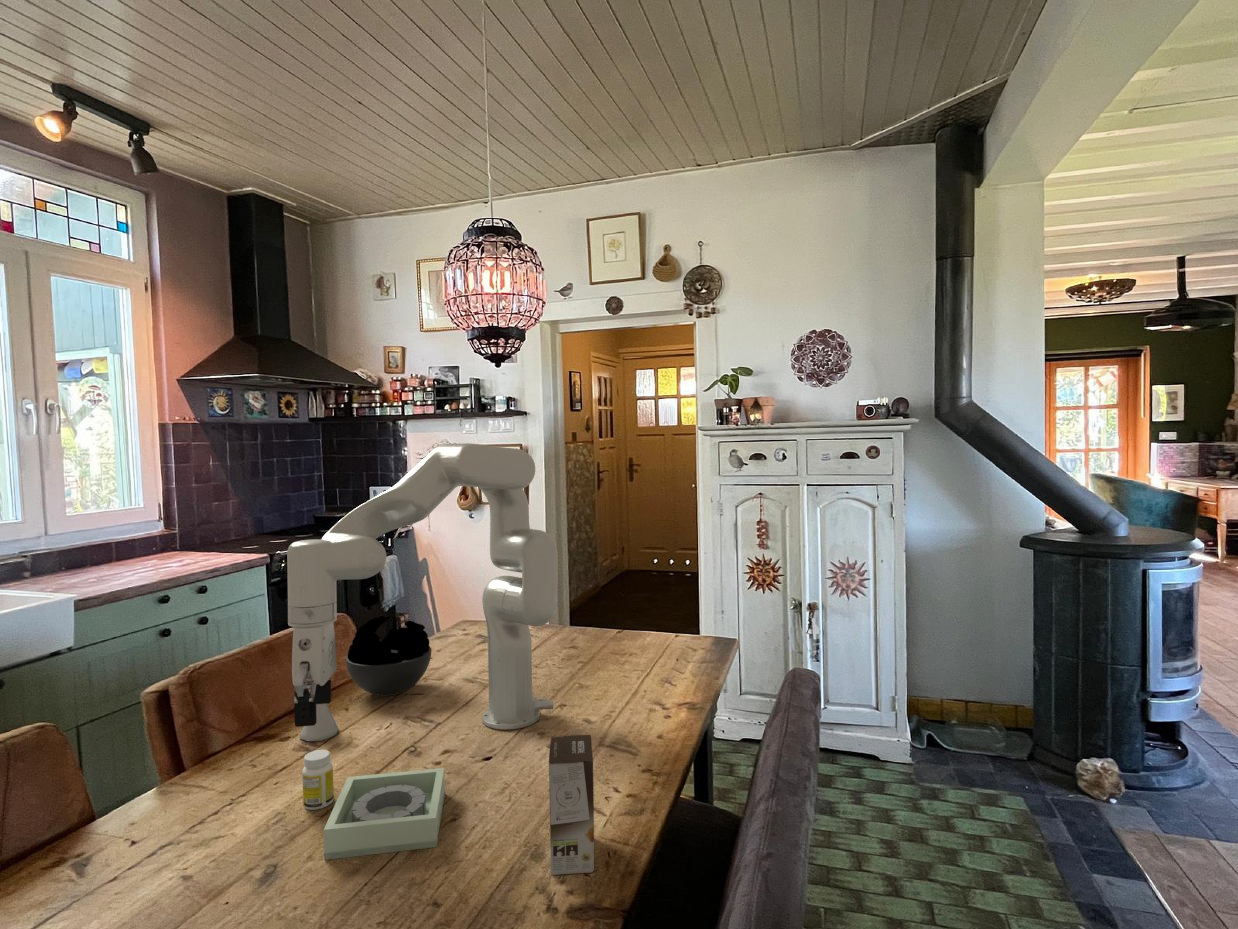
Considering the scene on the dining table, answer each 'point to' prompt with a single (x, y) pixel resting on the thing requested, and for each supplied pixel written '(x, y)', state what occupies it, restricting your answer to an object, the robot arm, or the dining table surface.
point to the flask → (320, 725)
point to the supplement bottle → (317, 780)
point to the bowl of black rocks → (388, 657)
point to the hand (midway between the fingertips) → (313, 714)
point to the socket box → (386, 814)
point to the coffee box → (571, 804)
